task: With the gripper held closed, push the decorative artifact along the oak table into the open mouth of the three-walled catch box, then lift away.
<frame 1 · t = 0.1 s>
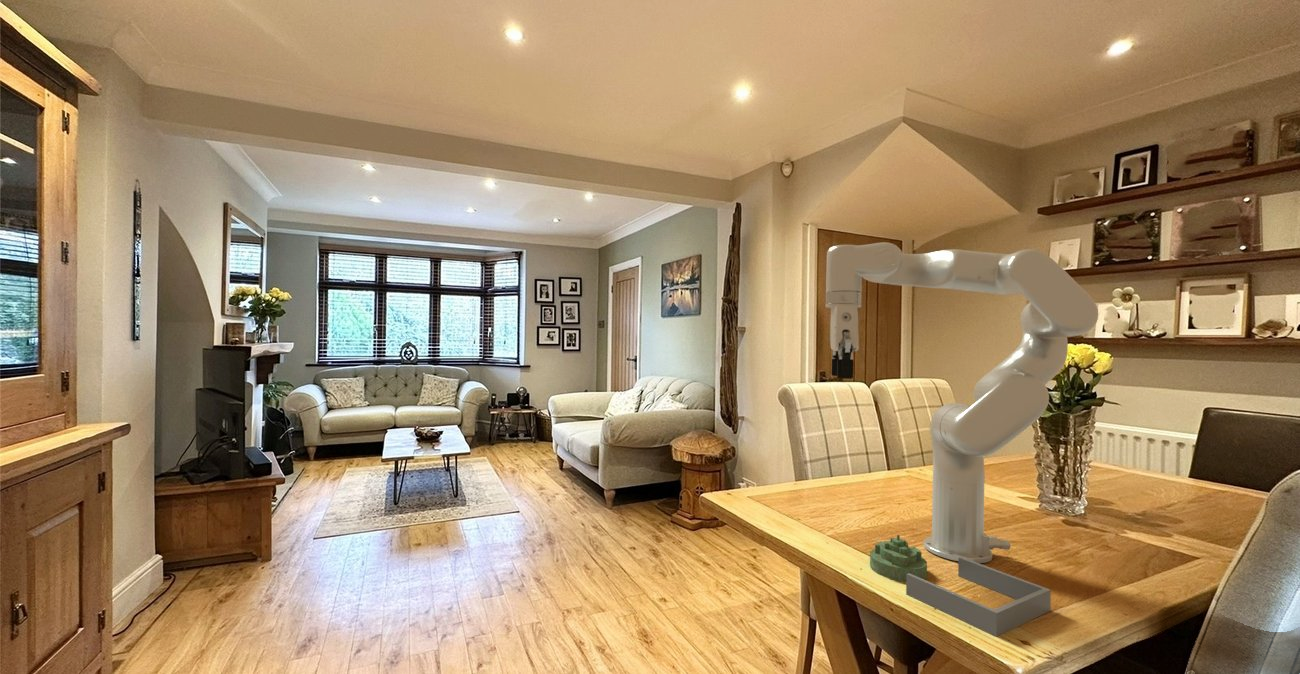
hand: (841, 377, 116), 37 cm above the table, tool pointing down, fingers open, 9 cm apart
decorative artifact: (897, 572, 101), on the table
catch box: (976, 602, 89), on the table
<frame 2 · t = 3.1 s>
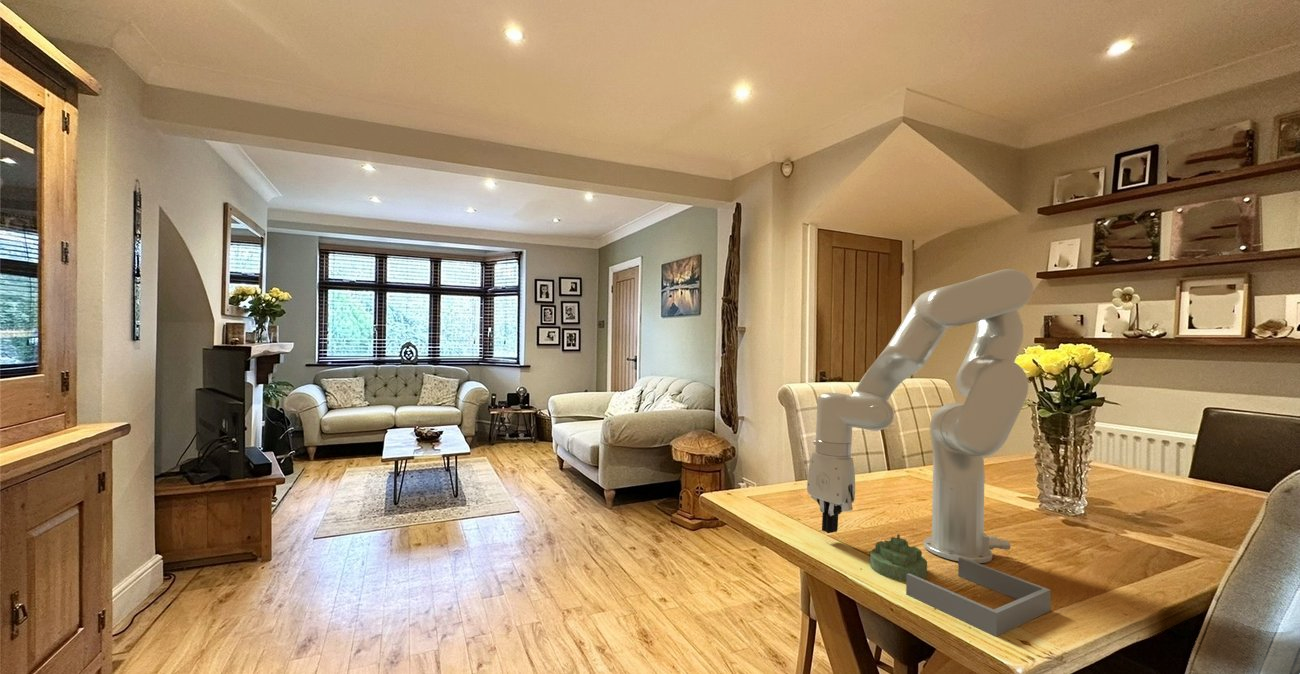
hand: (829, 531, 115), 2 cm above the table, tool pointing down, fingers closed
nothing on the table moved.
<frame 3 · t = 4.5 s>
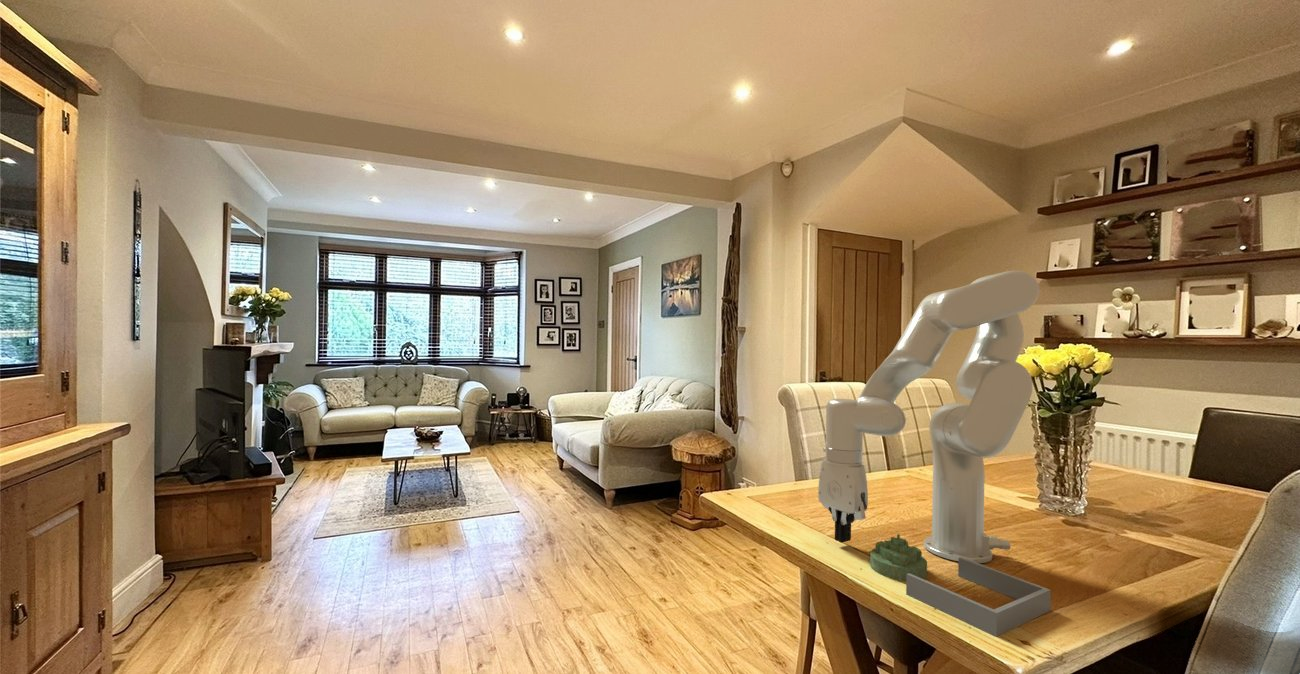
hand: (842, 540, 113), 1 cm above the table, tool pointing down, fingers closed
nothing on the table moved.
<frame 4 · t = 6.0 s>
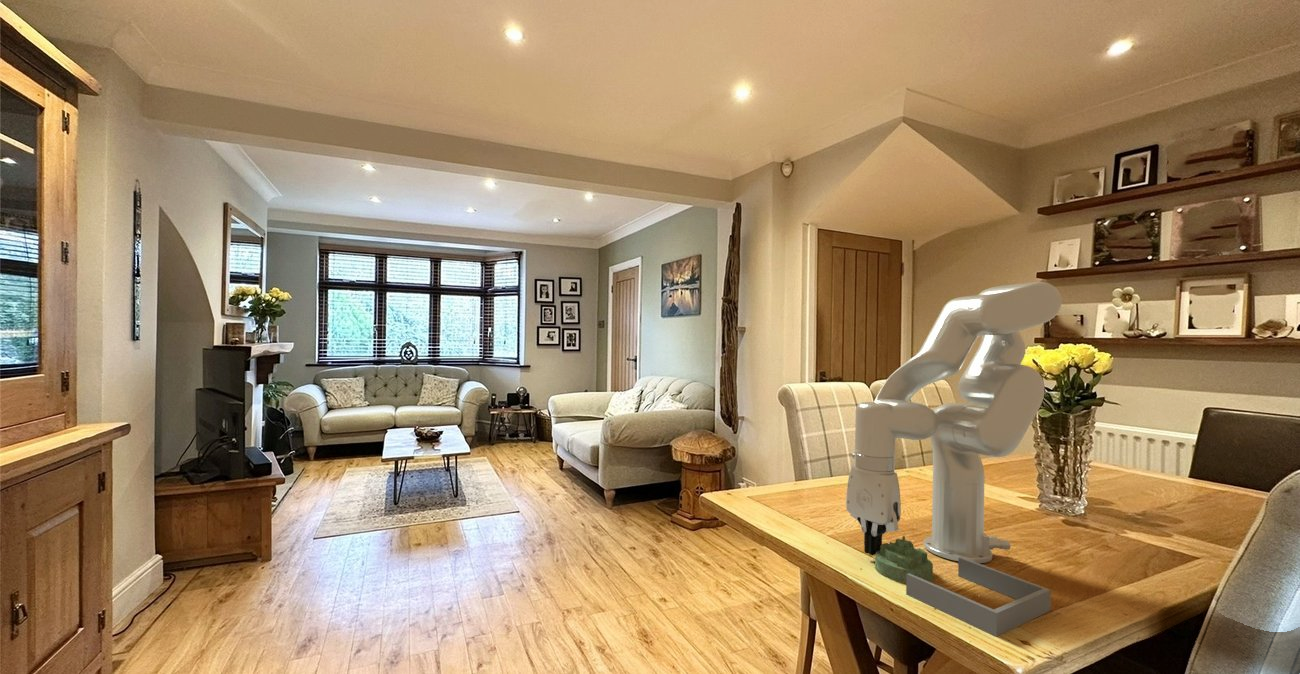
hand: (872, 552, 106), 1 cm above the table, tool pointing down, fingers closed
decorative artifact: (903, 573, 100), on the table
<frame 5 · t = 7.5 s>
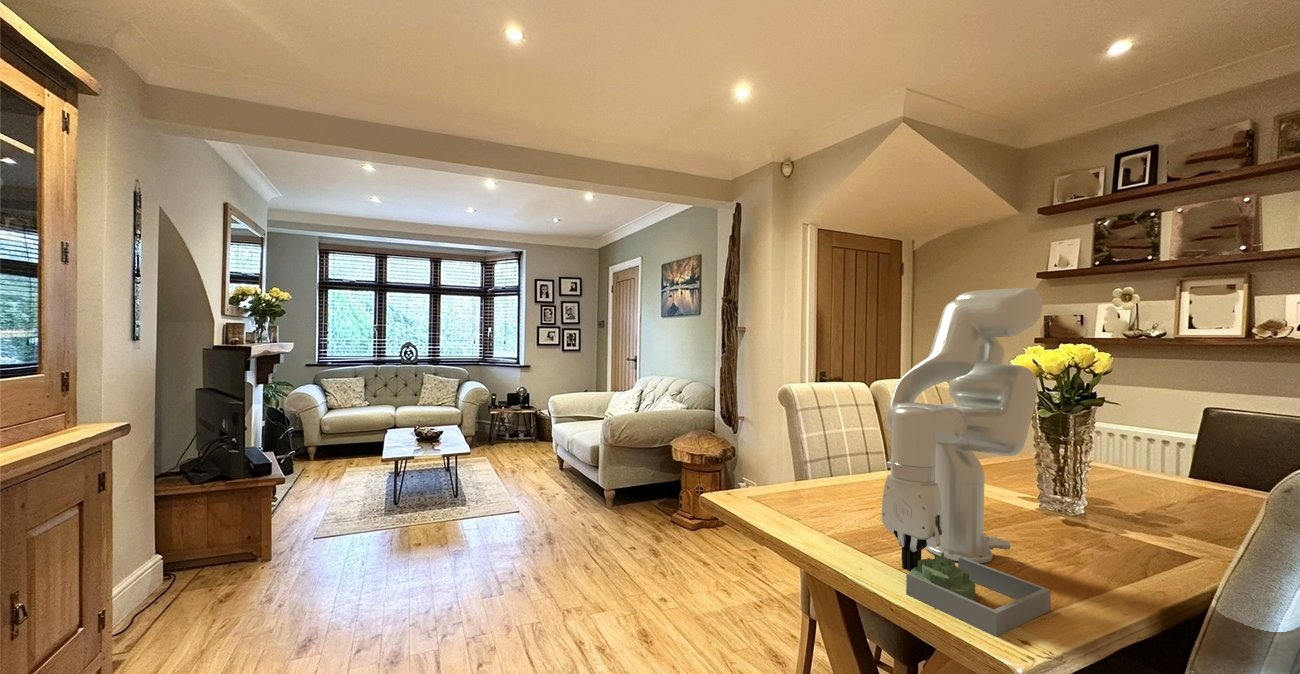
hand: (911, 568, 98), 1 cm above the table, tool pointing down, fingers closed
decorative artifact: (942, 593, 92), on the table, touching gripper
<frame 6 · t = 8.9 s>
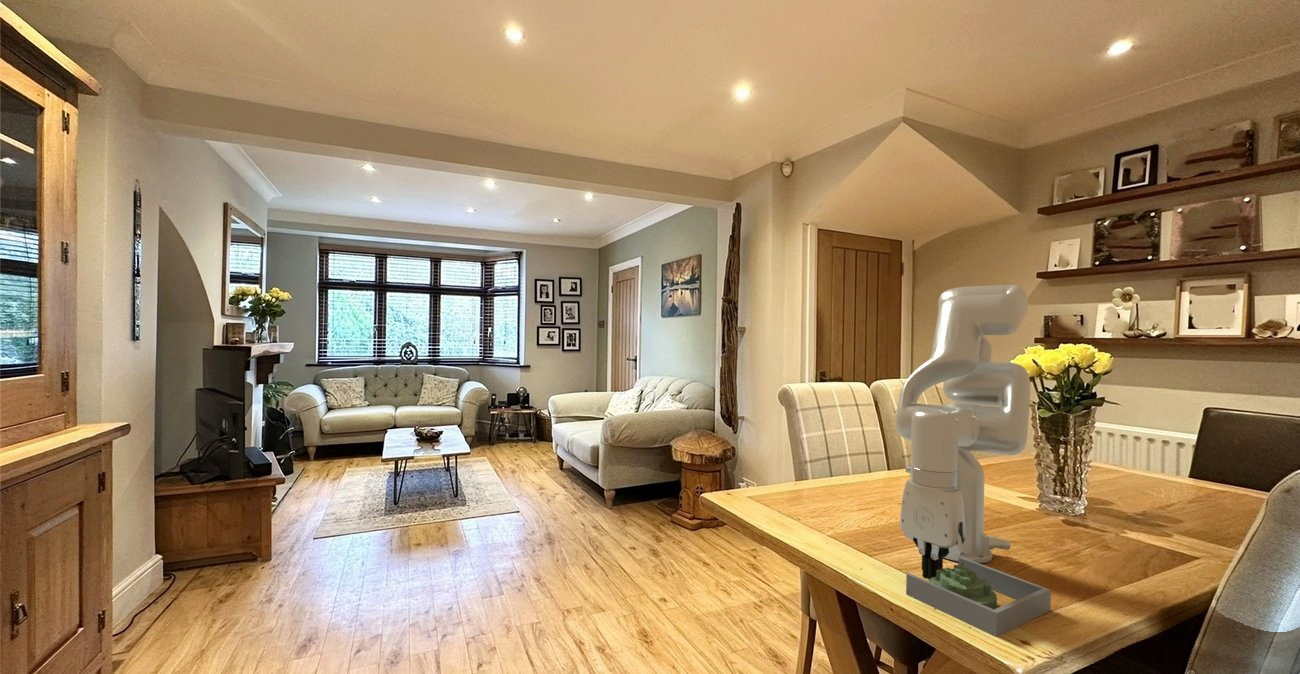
hand: (932, 577, 95), 1 cm above the table, tool pointing down, fingers closed
decorative artifact: (961, 605, 88), on the table
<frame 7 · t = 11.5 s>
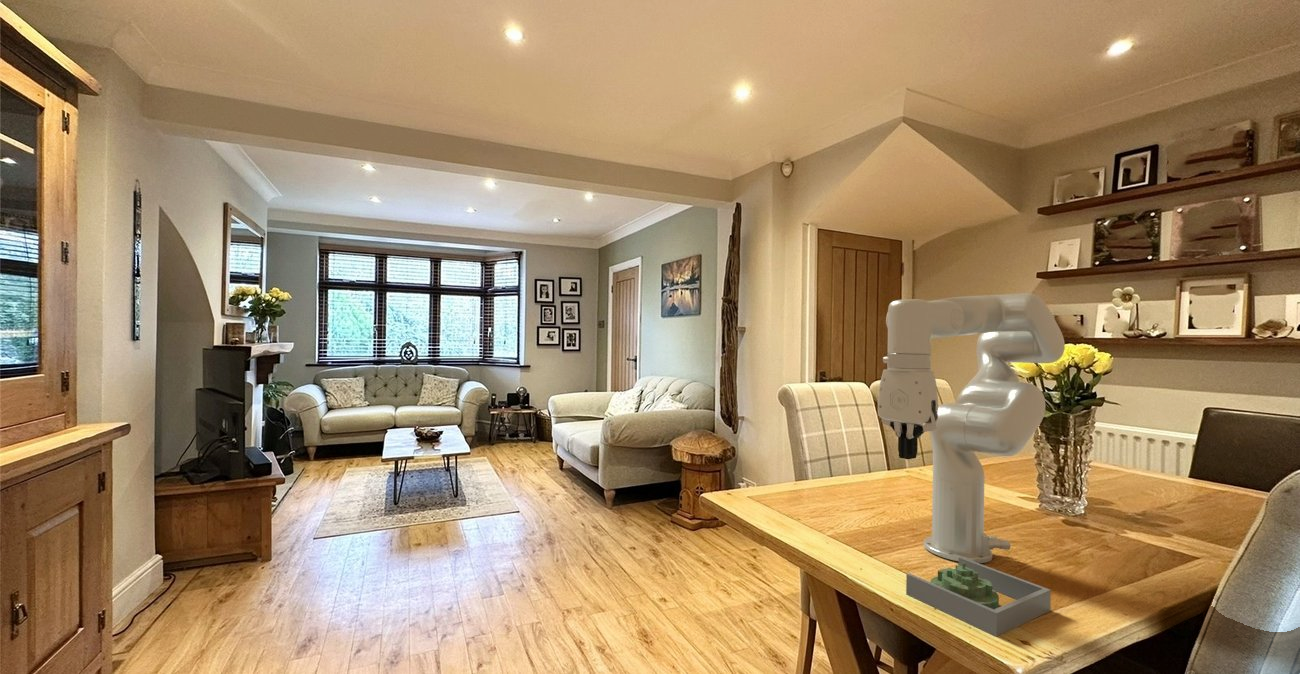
hand: (907, 457, 100), 22 cm above the table, tool pointing down, fingers closed
nothing on the table moved.
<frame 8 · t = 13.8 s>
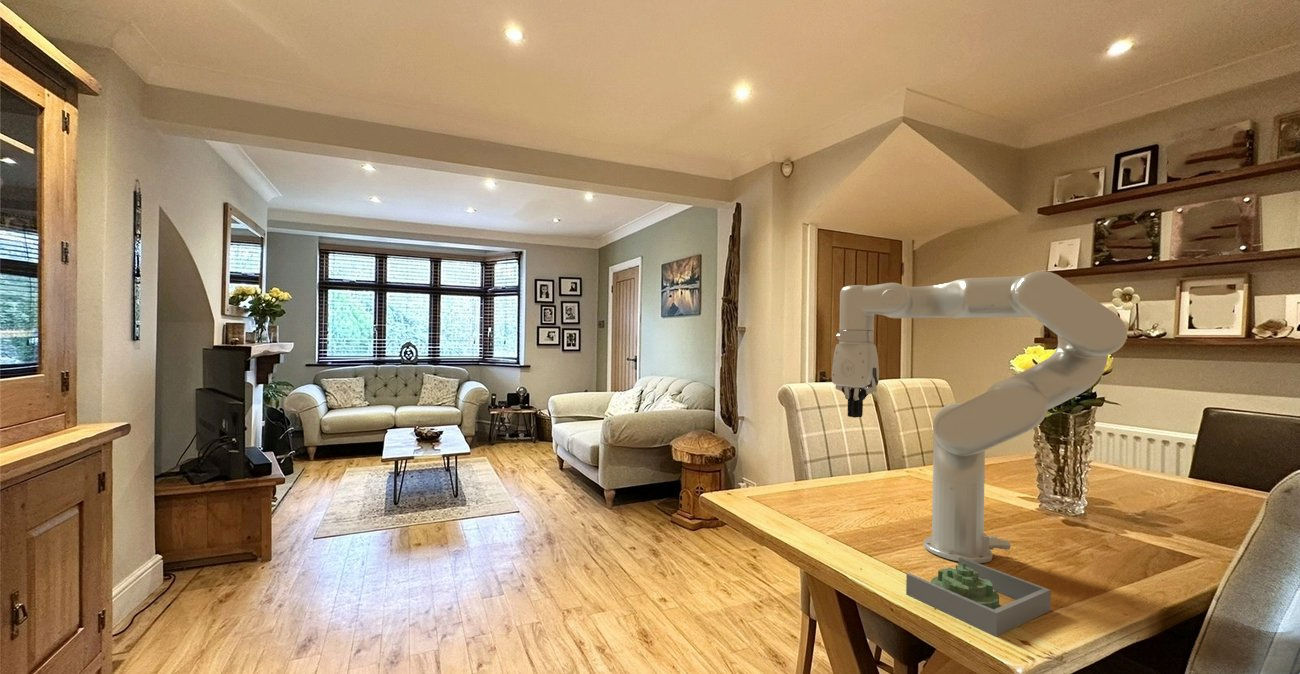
hand: (854, 416, 121), 27 cm above the table, tool pointing down, fingers closed
nothing on the table moved.
at the end: decorative artifact inside the target area on the catch box (2.3 cm from its centre), point 0.0 cm above the catch box's base; decorative artifact tilted 0° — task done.
